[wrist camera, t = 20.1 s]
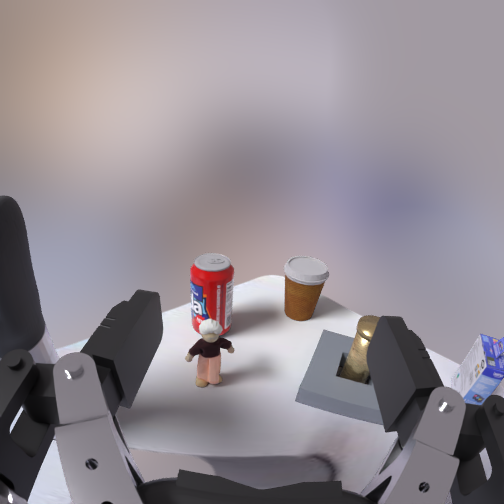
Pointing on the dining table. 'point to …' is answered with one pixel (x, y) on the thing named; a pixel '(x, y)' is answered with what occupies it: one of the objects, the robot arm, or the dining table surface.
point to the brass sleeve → (360, 351)
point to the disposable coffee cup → (303, 286)
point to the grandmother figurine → (209, 353)
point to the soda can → (212, 290)
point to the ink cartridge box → (480, 370)
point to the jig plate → (337, 382)
